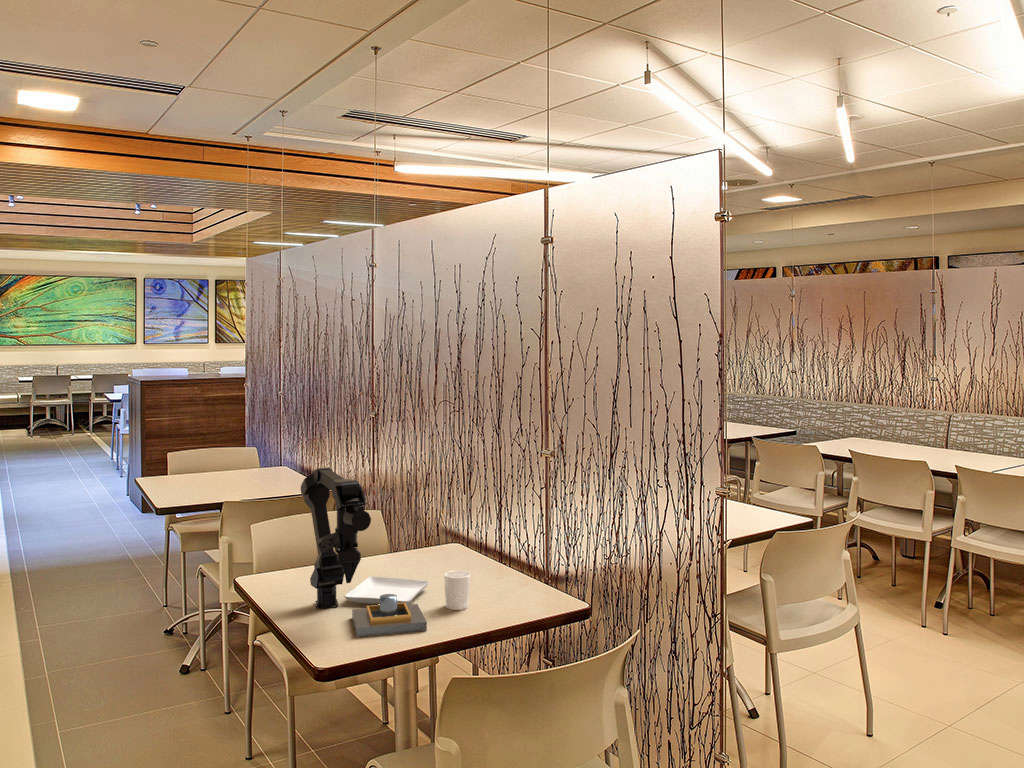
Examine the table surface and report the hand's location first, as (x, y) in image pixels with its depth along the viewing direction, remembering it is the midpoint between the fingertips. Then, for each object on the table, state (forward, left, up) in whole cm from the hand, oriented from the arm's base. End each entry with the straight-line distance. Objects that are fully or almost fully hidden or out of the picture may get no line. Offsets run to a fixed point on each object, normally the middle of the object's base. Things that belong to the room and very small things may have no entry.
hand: (347, 578), depth 222 cm
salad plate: (-18, +14, -13) cm, 26 cm away
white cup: (-3, +33, -12) cm, 35 cm away
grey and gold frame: (+7, +11, -12) cm, 18 cm away
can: (+7, +11, -12) cm, 18 cm away
